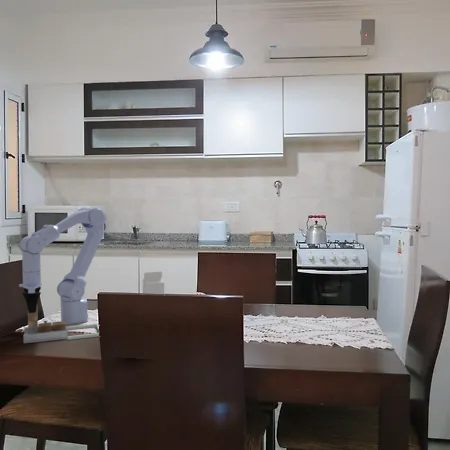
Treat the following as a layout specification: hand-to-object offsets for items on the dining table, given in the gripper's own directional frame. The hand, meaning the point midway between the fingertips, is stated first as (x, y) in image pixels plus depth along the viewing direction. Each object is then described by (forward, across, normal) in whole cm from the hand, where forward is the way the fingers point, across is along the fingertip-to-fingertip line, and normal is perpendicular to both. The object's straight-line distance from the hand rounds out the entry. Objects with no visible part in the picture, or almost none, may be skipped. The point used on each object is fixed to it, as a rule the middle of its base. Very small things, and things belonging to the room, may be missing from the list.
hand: (32, 310), depth 158 cm
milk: (+8, +23, +37) cm, 45 cm away
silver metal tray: (+8, +10, +4) cm, 14 cm away
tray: (+8, +10, +16) cm, 21 cm away
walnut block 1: (+7, +10, +4) cm, 13 cm away
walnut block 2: (+7, +10, +8) cm, 15 cm away
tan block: (+8, 0, +2) cm, 8 cm away
